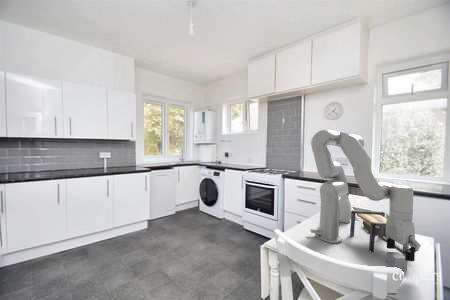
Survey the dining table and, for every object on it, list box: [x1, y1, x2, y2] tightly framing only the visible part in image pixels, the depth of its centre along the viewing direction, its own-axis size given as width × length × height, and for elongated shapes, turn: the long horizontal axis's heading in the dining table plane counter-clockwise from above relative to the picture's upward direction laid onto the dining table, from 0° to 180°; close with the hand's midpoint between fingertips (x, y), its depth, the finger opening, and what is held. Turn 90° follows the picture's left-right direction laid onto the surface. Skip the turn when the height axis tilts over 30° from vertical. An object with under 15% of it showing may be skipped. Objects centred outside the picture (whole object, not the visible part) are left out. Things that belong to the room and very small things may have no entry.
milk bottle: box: [339, 191, 352, 224], centre depth 134 cm, size 8×8×20 cm
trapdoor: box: [356, 213, 389, 224], centre depth 104 cm, size 16×13×3 cm
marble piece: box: [362, 220, 386, 237], centre depth 120 cm, size 17×15×4 cm
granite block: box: [385, 251, 409, 271], centre depth 85 cm, size 5×5×5 cm
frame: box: [349, 209, 410, 255], centre depth 104 cm, size 17×17×14 cm
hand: (399, 254), depth 84 cm, fingers open, 9 cm apart
